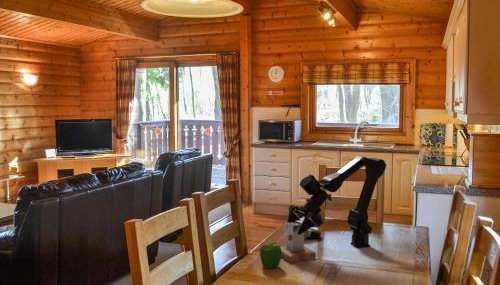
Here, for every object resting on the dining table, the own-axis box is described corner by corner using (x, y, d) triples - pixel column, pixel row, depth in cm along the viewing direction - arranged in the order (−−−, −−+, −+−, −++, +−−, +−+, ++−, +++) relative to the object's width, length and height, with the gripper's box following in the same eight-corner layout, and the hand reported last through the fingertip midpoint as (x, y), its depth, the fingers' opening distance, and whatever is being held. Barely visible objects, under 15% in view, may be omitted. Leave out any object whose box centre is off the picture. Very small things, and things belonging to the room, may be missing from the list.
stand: (300, 249, 209) (300, 243, 209) (315, 258, 198) (315, 252, 198) (275, 253, 204) (275, 247, 204) (289, 262, 193) (289, 256, 193)
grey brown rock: (320, 241, 230) (314, 244, 220) (298, 233, 234) (291, 235, 225) (324, 227, 229) (318, 230, 220) (302, 220, 234) (295, 222, 225)
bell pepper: (255, 267, 188) (255, 242, 187) (266, 261, 195) (266, 236, 194) (273, 272, 184) (274, 246, 182) (285, 265, 190) (285, 240, 189)
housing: (297, 246, 205) (298, 221, 204) (305, 251, 199) (305, 224, 198) (285, 248, 202) (285, 222, 201) (292, 253, 197) (292, 226, 196)
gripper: (340, 219, 198) (316, 249, 194) (314, 209, 215) (292, 237, 211) (324, 202, 194) (299, 232, 190) (299, 193, 210) (276, 221, 207)
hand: (292, 231), depth 200 cm, fingers open, 9 cm apart
